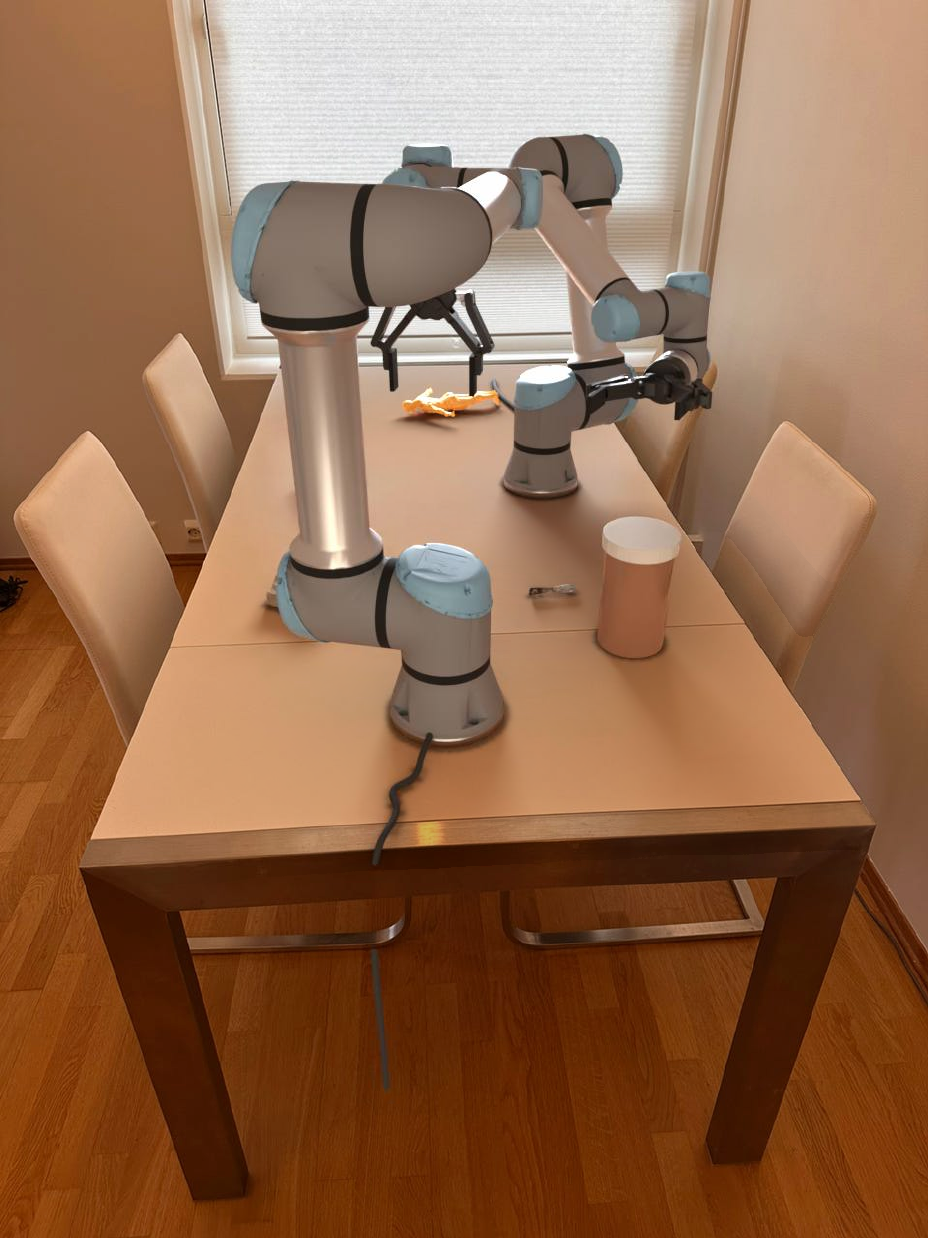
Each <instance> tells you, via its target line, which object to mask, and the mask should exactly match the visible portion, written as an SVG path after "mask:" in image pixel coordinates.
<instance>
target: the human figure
mask: <svg viewBox="0 0 928 1238" xmlns="http://www.w3.org/2000/svg"><path fill="white" fill-rule="evenodd" d="M424 391H425V392H423V393H422V394H420V395H418V396H416V398H415V399H414V400H404V401H403V402H402V411H404V412H405V413H410V414H412V413H414V412H417V408H418V409H420V410H421V411H423V412H424V413H427V414H439V415H443V416H444V417H449V416H450V417H451V418H452V417H453V418H454V417H455V416H456V414H455V411H462V410H464V409H467V408H469V407H471V406H473V405H476V404H478V403H481V402H484V401H488V400H493V402H494V403H495V404H496V405H497V406H500V397H499V395H498V393H497V392H495V390H494V389H493V390H491V391H478V390H477V392H476V394H475V395H474V397H469V393H468V394H460V393H457V394H455V393H453V392H446V393H444V394H443V395H442V396H441V397H440V398H434V397H429V396H430V395H432V394H433V392H434V391H433V389H432V385H429V387H428V389H424ZM450 410H452V411H450Z"/></svg>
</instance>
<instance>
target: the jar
mask: <svg viewBox="0 0 928 1238" xmlns="http://www.w3.org/2000/svg"><path fill="white" fill-rule="evenodd" d="M674 566H675V558H673V559H671V560H669V561H667V562H663V563H659V564H634V563H629V562H625V561H621V560H619V559H616V558H614V557H612V556H611V555H609V554H608V553H607V552H606V551H605V550H604V558H603V567H602V569H603V570H602V579H601V592H600V600H599V601H600V604H599V613H598V623H597V625H598V626H597V636H596V637H597V642H598V645H600V647H601V648H602V649H603V650H605V651H606V652H608V653H610V654H612V655H615V656H618V657H621V658H626V659H627V658H628V659H641V658H648V657H651V656H653V655H655V654H657V653H659V651H660V650H661V649H662V648H663V645H664V637H665V631H666V624H667V623H666V622H667V616H668V608H669V602H670V593H671V587H672V580H673V572H674Z"/></svg>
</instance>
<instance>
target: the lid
mask: <svg viewBox="0 0 928 1238" xmlns="http://www.w3.org/2000/svg"><path fill="white" fill-rule="evenodd" d="M601 540H602V541H601V547H602V549H603V550H604V552H605V551H606V552H607V553H608V554H609V555H611V556H612V557H614V558H616V559H619V560H621V561H625V562H629V563H634V564H659V563H663V562H667V561H669V560H671V559H673V558H674V559H675V558H676V557H677V556H678V555H679V553H680V548H681V543H682V534H681V531H680V530H679V529H678V528H677V527H676V526H675V525H673V524H671V523H670V522H667V521H664V520H662V519H658V518H654V517H648V516H624V517H619V518H616V519H613V520H611V521H609V522H608V523H606V525H604V527H603V530H602V539H601Z"/></svg>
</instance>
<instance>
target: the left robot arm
mask: <svg viewBox="0 0 928 1238" xmlns="http://www.w3.org/2000/svg"><path fill="white" fill-rule="evenodd" d="M453 155H454V153H453V150H452V148H451V147H450V146H449V145H448V144H441V143H414V144H408V145H405V146H404V147H403V149H402V155H401V156H402V159H401V161H402V162H401V166H400V167H398V168H397V169H394V170H393V171H391V172H390V173H389V174H388V175H387V176H386V177H385V178H384V179H383V180H382V182H381V183H353V182H350V183H349V182H329V181H300V180H289V181H277V182H266V183H265V182H264V183H261V184H258V185H255V186H254V187H253V188H252V189H250V190H249V191H248V192H247V194H246V195H245V196H244V198H243V200H242V201H241V203H240V205H239V208H238V211H237V214H236V216H235V219H234V222H233V223H234V224H233V229H232V235H231V242H230V245H231V246H230V262H231V270H232V276H233V281H234V284H235V286H236V287H237V288H238V293H239V295H240V296H241V297H242V298H243V299H245V300H246V301H248V302H249V303H252V304H258V306H259V313H260V314H259V315H260V322H261V325H262V327H263V328H264V329H266V330H267V331H268V332H269V333H270V334H271V335H273V336H274V337H275V338H276V340H277V345H278V353H279V354H278V355H279V363H280V370H281V372H280V373H281V378H282V379H281V381H282V389H283V398H284V406H285V407H284V408H285V414H286V424H287V433H288V441H289V450H290V460H291V467H292V477H293V485H294V493H295V502H296V511H297V521H298V528H299V533H298V534H297V535H296V536H295V537H294V538H293V539H292V540H291V542H290V544H289V548H288V550H287V551H286V552H285V553H284V554H283V555H282V557H281V558H280V561H279V564H278V567H277V572H276V575H277V579H278V584H277V585H276V598H277V604H278V607H277V609H278V612H279V615H280V617H281V619H282V622H283V624H284V625H285V627H286V628H287V629H288V631H290V633H292V634H294V635H295V636H298V637H299V638H303V639H309V640H314V641H317V642H320V643H326V644H328V643H336V644H337V643H338V644H346V645H354V646H364V647H371V648H372V647H373V648H379V649H380V648H381V649H390V650H398V651H400V655H401V667H400V669H399V672H398V675H397V678H396V681H395V684H394V687H393V690H392V693H391V696H390V704H389V705H390V718H391V721H392V724H393V725H394V727H395V728H396V729H397V731H398V732H399V733H400V734H402V735H403V736H404V737H406V738H407V739H409V740H411V741H413V742H415V743H417V744H420V745H421V744H422V746H421V747H420V750H419V754H418V756H417V761H416V764H415V768H414V770H413V772H412V773H411V774H410V775H409V776H408V777H406V778H404V779H402V780H400V781H397V782H396V783H394V784H393V785H392V786H391V787H390V789H389V792H388V797H389V800H390V803H391V805H392V812H391V816H390V818H389V820H388V821H387V823H386V825H385V826H384V827H383V829H382V831H381V832H380V834H379V836H378V838H377V840H376V843H375V846H374V849H373V853H372V857H371V865H372V866H377V865H378V864H379V863H380V859H381V854H382V851H383V848H384V845H385V842H386V840H387V839H388V836H389V835H390V833H392V832H391V831H392V830H393V828H394V827H395V826H396V824H397V822H398V820H399V817H400V812H401V807H400V806H401V805H400V802H399V799H398V797H397V792H398V791H399V790H400V789H402V788H404V787H407V786H409V785H410V784H412V783H414V782H415V781H416V780H417V779H418V778H419V776H420V774H421V773H422V771H423V766H424V762H425V759H426V757H427V753H428V750H429V748H430V747H437V748H454V747H455V748H457V747H463V746H467V745H471V744H473V743H476V742H480V741H481V740H483V739H485V738H486V737H488V736H489V735H491V734H492V733H493V732H494V731H495V730H496V729H498V727H499V726H500V724H501V722H502V720H503V717H504V697H503V693H502V690H501V687H500V685H499V682H498V679H497V677H496V674H495V672H494V668H493V666H492V664H491V654H492V653H491V651H492V649H491V648H492V647H491V645H492V643H491V642H492V641H491V640H492V608H493V606H494V605H493V604H494V598H493V593H492V584H491V581H492V580H491V574H490V571H489V569H488V567H487V565H486V564H485V563H484V562H483V561H482V560H480V559H479V557H478V556H477V555H476V554H474V553H472V552H470V551H468V550H466V549H465V548H462V547H459V546H455V545H451V544H447V543H439V542H427V543H424V545H420V544H414V545H412V546H410V547H407V548H405V549H404V550H403V551H401V553H400V554H399V555H398V557H392V556H385V553H384V542H383V538H382V537H381V535H380V534H379V533H378V532H376V531H375V530H374V529H372V528H371V527H370V526H371V525H370V513H369V511H370V510H369V499H368V498H369V496H368V482H367V468H366V453H365V439H364V438H365V437H364V425H363V424H364V423H363V421H364V420H363V408H362V395H361V382H360V381H361V380H360V378H361V377H360V366H359V365H360V364H359V350H358V349H359V347H358V335H359V333H360V332H361V331H362V330H363V329H364V328H365V326H366V325H368V323H369V322H370V307H371V308H384V309H383V311H382V314H381V316H380V319H379V321H378V324H377V325H376V328H375V330H374V333H373V335H372V337H371V339H370V342H369V344H370V346H371V347H372V348H378V349H379V350H380V351H381V353H382V368H383V370H384V371H388V380H389V381H388V382H389V392H392V393H394V392H396V390H397V389H398V388H399V366H398V348H395V347H393V345H394V344H395V343H396V342H397V341H398V339H399V338H400V337H401V335H402V334H403V333H405V331H406V330H407V328H408V327H409V325H410V324H411V323H412V322H413V320H414V319H415V318H416V317H417V318H419V319H420V320H421V321H425V320H433V321H441V320H443V319H444V320H445V322H446V323H447V324H448V325H450V326H451V327H452V329H453V331H455V332H456V334H457V335H458V337H459V338H460V339H461V340H462V342H463V343H464V344H465V346H466V347H467V348H468V349H469V350H470V352H471V353H470V355H469V356H468V394H469V397H474V395H475V394H476V392H477V391H478V376H482V374H483V371H484V355H485V354H491V353H492V351H493V350H494V348H495V345H496V344H495V342H494V340H493V338H492V336H491V333H490V332H489V330H488V329H489V328H488V327H487V325H486V323H485V321H484V318H483V315H482V314H481V312H480V310H479V307H478V305H477V301H476V292H475V290H473V289H472V288H471V289H468V290H467V291H457V288H458V287H460V286H462V285H463V284H465V283H466V282H468V281H469V280H471V279H472V278H473V277H474V276H476V274H477V273H478V272H479V271H480V270H481V269H482V268H483V267H484V266H485V264H486V262H487V260H488V259H489V257H490V255H491V252H492V248H493V245H494V244H495V243H496V242H497V241H498V240H499V239H500V238H501V237H502V236H504V234H505V233H506V232H507V231H508V230H511V229H512V230H516V231H522V230H531V229H532V230H533V229H535V228H536V227H537V226H538V225H539V223H540V220H541V215H542V207H543V179H542V175H541V173H540V172H539V171H538V170H536V169H523V168H521V167H515V168H507V167H459V166H457V167H456V166H454V156H453ZM457 301H459V303H460V304H461V306H462V307H465V311H466V313H467V316H468V318H469V321H470V323H471V325H472V326H473V329H474V331H475V333H476V335H477V337H478V338H477V337H476V336H475V334H474V333H473V332H472V331H471V330H470V328H469V327H468V325H467V324H466V323H465V322H464V320H463V319H462V318H461V317H460V315H459V312H458V311H457V310H456V308H455V307H454V305H455V304H456V302H457ZM406 306H409V307H410V308H409V310H408V311H407V312H406V314H405V315H404V316H403V318H402V319H401V320H400V322H399V323H398V324H397V325H396V327H395V328H394V329H393V330H392V332H391V333H390V334H389V336H388V337H387V338H386V339H384V337H385V334H386V332H387V329H388V327H389V324H390V322H391V320H392V318H393V316H394V313H395V311H396V309H397V308H399V307H406ZM370 957H371V958H370V960H371V973H372V974H371V975H372V985H373V986H372V987H373V997H374V1005H375V1006H374V1007H375V1014H376V1025H377V1034H378V1044H379V1052H380V1063H381V1073H382V1086H383V1088H382V1089H383V1090H384V1091H389V1090H390V1088H391V1087H390V1074H389V1059H388V1050H387V1040H386V1031H385V1022H384V1021H385V1020H384V1012H383V1011H384V1009H383V1000H382V988H381V978H380V977H381V976H380V963H379V960H380V959H379V949H376V948H370Z"/></svg>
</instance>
